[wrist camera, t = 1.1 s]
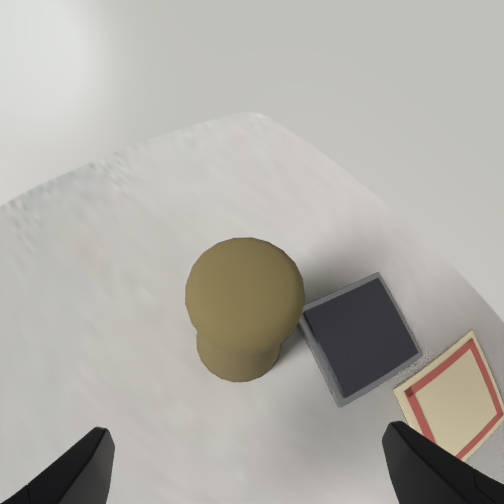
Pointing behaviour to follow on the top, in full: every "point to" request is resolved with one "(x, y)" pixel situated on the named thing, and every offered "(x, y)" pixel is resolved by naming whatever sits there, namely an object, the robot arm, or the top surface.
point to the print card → (454, 399)
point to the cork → (243, 306)
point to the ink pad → (358, 338)
